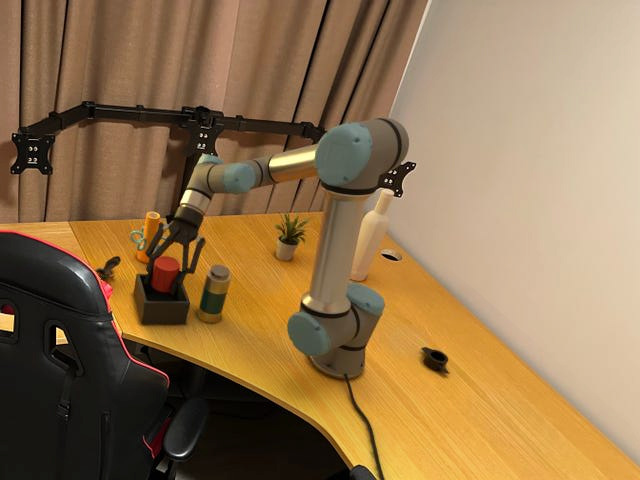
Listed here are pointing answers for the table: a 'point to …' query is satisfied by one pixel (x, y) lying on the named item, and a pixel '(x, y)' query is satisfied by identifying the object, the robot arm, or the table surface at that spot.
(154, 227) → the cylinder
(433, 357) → the black flanged ring
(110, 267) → the eagle figurine
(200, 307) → the spray can
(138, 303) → the bin
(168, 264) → the cap
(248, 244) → the table surface
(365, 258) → the bottle
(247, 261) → the table surface
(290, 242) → the house plant
